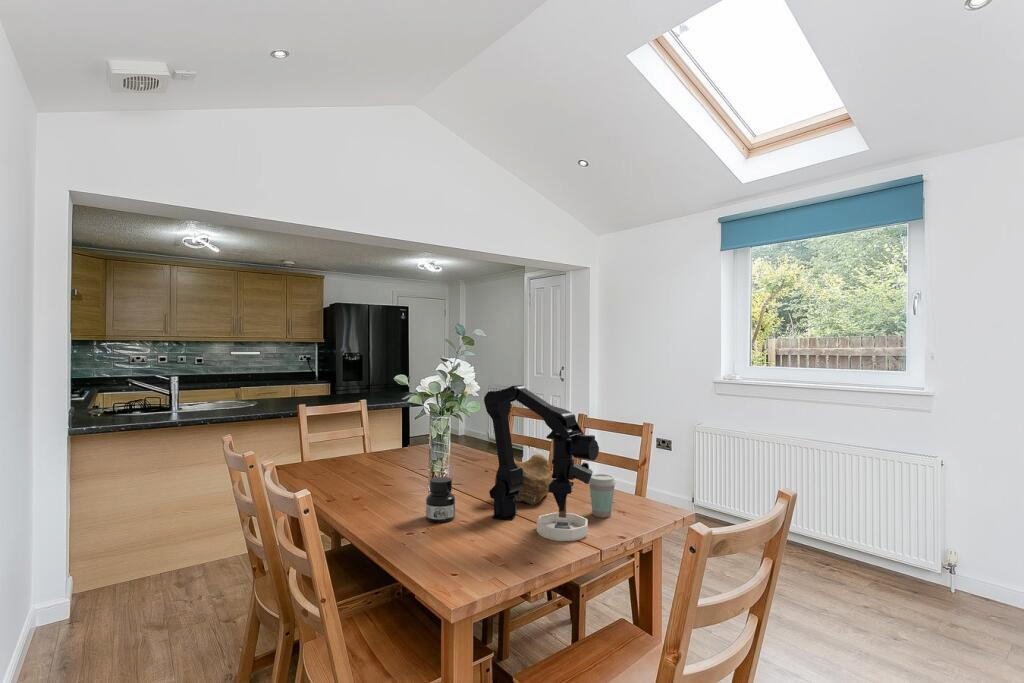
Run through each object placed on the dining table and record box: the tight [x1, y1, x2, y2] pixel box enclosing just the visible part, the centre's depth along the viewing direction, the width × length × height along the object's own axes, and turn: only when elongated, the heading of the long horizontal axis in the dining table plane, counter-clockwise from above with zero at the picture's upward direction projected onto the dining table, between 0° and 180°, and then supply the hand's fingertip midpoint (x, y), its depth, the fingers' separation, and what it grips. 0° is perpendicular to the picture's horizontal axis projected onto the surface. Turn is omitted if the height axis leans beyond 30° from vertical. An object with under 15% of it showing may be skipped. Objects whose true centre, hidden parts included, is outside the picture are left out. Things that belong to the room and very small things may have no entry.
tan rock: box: [494, 453, 553, 506], centre depth 178 cm, size 23×17×15 cm
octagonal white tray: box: [536, 511, 589, 542], centre depth 147 cm, size 14×14×3 cm
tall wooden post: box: [558, 502, 567, 518], centre depth 147 cm, size 2×2×8 cm
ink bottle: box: [425, 476, 456, 523], centre depth 158 cm, size 10×9×12 cm
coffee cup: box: [588, 473, 616, 518], centre depth 162 cm, size 8×9×12 cm
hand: (562, 509), depth 147 cm, fingers closed on tall wooden post, 2 cm apart
